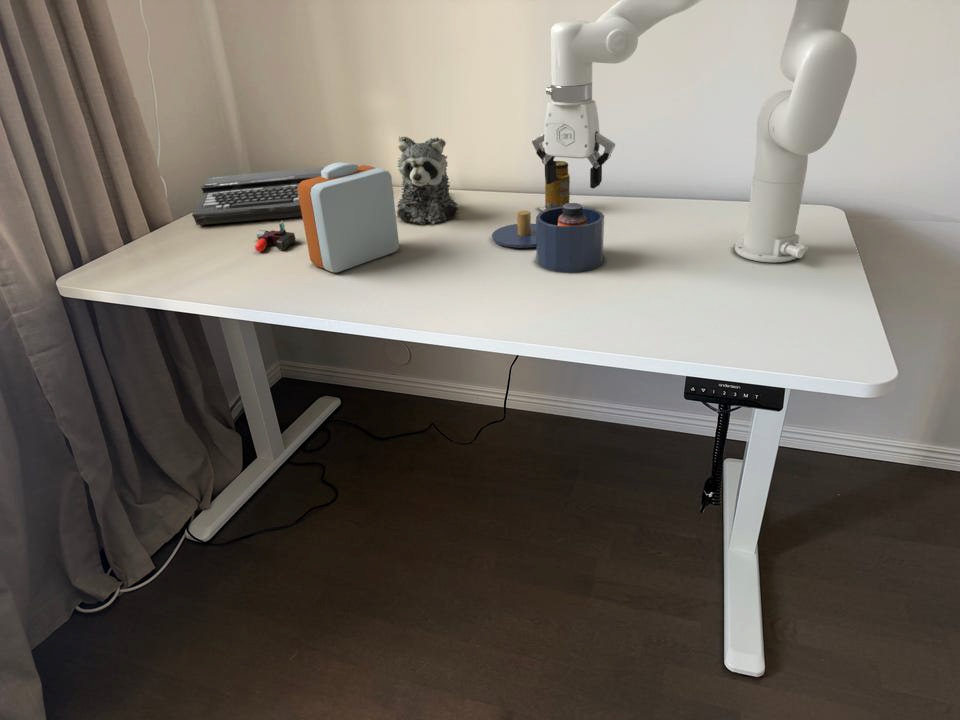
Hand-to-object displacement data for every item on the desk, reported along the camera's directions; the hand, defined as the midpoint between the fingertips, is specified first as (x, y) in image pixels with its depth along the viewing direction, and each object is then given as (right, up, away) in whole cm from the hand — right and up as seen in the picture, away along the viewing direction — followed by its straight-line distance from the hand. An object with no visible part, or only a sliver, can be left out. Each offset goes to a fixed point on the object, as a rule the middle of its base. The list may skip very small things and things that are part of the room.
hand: (572, 184), depth 138 cm
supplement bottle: (+1, -14, +8) cm, 16 cm away
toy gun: (-68, -8, +25) cm, 74 cm away
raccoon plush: (-33, +4, +43) cm, 55 cm away
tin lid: (-8, -7, +21) cm, 23 cm away
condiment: (+1, +2, +37) cm, 37 cm away
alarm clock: (-46, -13, +15) cm, 50 cm away
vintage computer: (-73, +7, +54) cm, 91 cm away
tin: (0, -14, +8) cm, 16 cm away
